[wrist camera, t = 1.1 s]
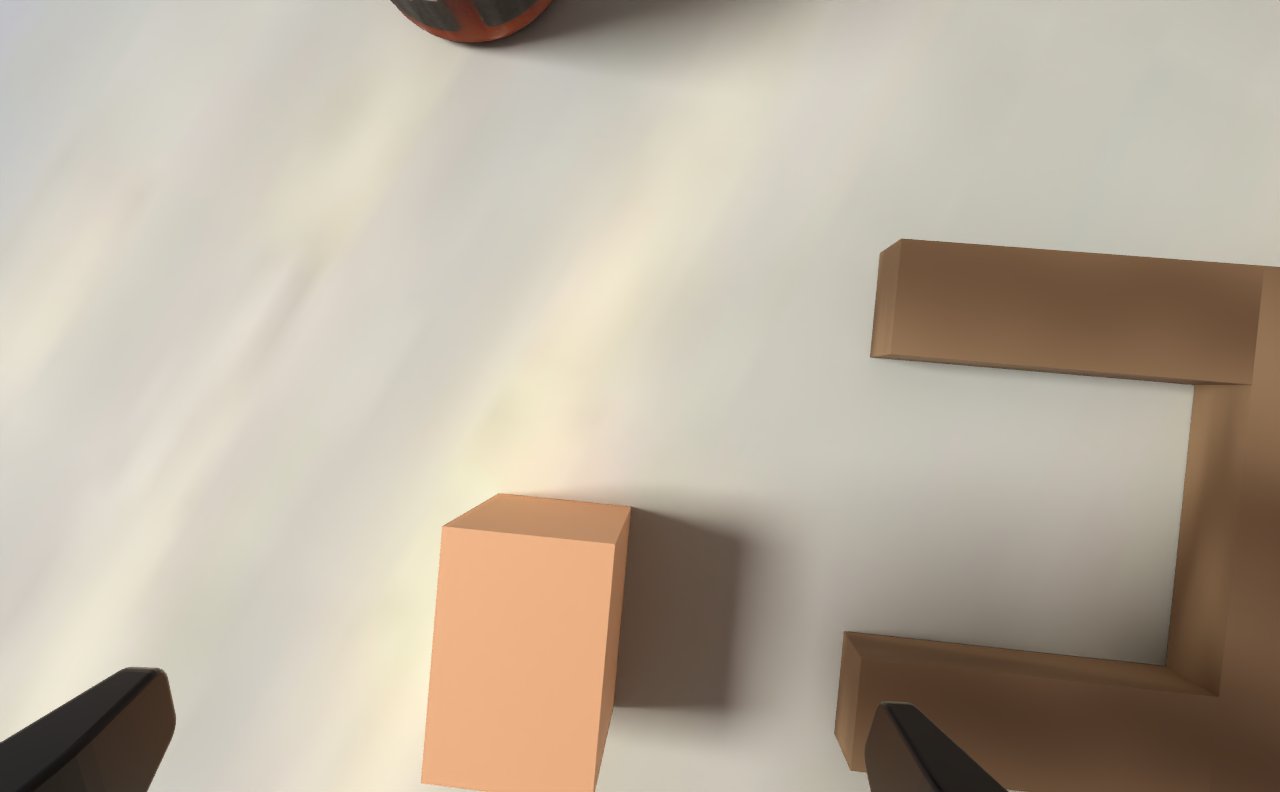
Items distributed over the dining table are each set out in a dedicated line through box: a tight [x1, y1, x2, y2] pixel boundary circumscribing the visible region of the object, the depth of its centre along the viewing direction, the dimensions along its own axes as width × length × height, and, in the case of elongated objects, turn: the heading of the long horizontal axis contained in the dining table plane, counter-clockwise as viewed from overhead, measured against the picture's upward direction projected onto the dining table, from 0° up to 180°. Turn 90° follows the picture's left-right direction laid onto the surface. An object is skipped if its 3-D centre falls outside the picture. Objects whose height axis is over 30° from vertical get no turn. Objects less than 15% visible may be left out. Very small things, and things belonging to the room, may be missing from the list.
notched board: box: [834, 239, 1280, 792], centre depth 19 cm, size 14×13×2 cm
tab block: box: [421, 493, 631, 792], centre depth 19 cm, size 6×4×5 cm, turn 175°
